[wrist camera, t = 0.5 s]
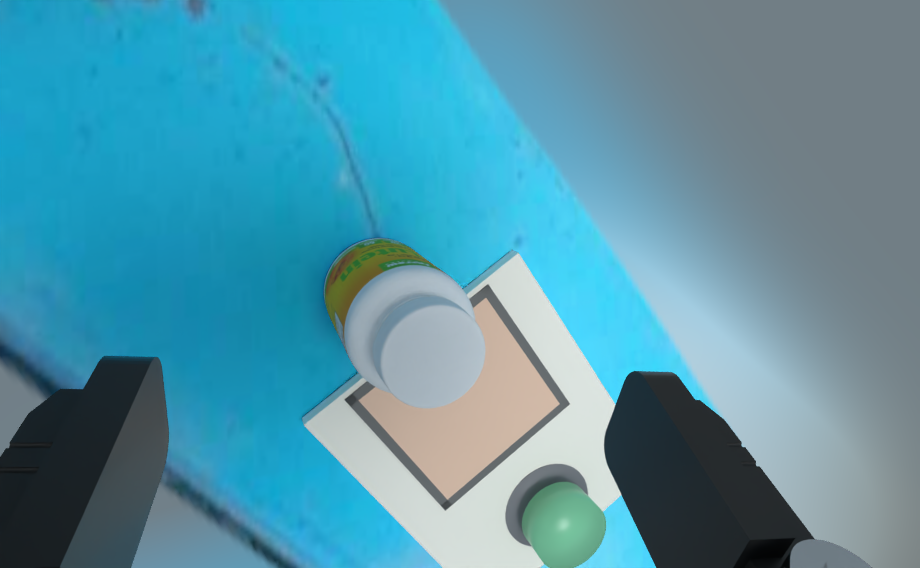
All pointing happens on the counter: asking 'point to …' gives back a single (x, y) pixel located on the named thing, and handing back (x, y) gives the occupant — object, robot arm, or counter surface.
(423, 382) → the supplement bottle
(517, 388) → the white board
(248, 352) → the counter surface
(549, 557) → the button
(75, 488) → the robot arm
